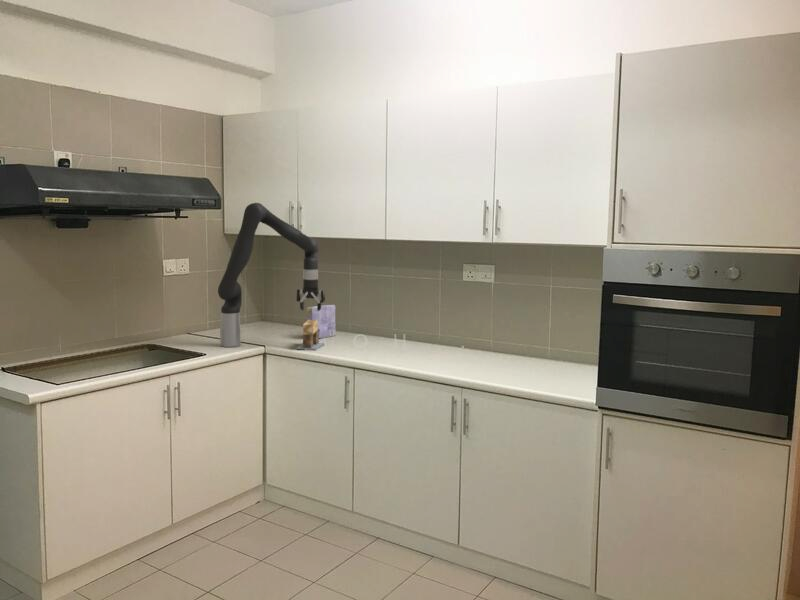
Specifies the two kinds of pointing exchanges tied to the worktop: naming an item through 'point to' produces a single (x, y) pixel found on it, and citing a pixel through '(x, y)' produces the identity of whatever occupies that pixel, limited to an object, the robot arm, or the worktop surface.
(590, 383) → the worktop surface
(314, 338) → the posts
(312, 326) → the oak crossbeam
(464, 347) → the worktop surface
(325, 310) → the cake pan box
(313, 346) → the blueprint plate
